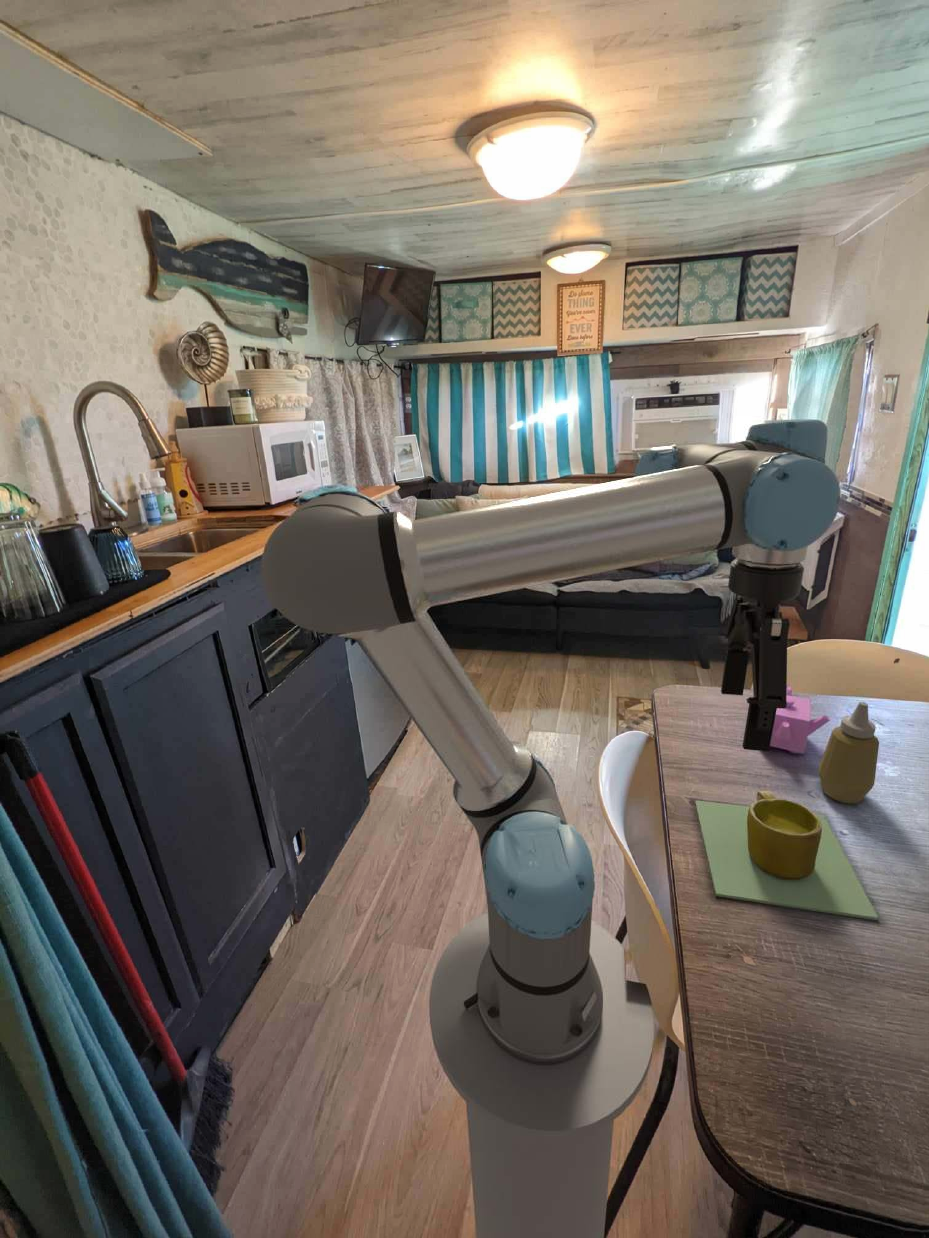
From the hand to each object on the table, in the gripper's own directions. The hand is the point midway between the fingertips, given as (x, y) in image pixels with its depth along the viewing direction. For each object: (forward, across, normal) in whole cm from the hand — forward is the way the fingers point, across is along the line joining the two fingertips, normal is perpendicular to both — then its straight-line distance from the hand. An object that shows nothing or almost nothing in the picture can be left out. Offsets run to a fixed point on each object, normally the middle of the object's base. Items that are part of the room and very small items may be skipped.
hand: (742, 718), depth 71 cm
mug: (+26, +6, -9) cm, 28 cm away
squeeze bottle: (+27, +23, -24) cm, 43 cm away
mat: (+27, +6, -9) cm, 29 cm away
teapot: (+27, +38, -19) cm, 50 cm away
